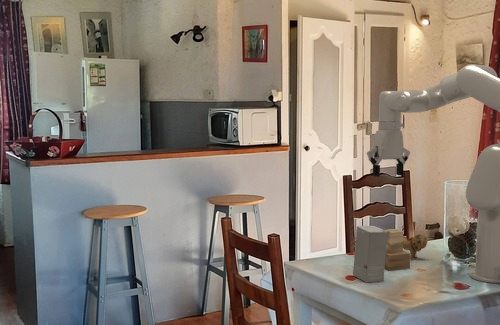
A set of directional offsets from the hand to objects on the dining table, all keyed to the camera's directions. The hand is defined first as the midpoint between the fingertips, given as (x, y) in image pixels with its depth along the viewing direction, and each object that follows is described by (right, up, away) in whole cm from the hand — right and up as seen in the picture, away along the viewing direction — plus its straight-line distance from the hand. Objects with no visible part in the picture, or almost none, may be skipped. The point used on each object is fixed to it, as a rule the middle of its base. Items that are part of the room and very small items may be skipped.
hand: (388, 175), depth 210 cm
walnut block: (-1, -30, -12) cm, 32 cm away
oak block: (-1, -25, -12) cm, 28 cm away
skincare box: (-12, -31, -26) cm, 42 cm away
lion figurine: (+7, -29, 0) cm, 30 cm away
